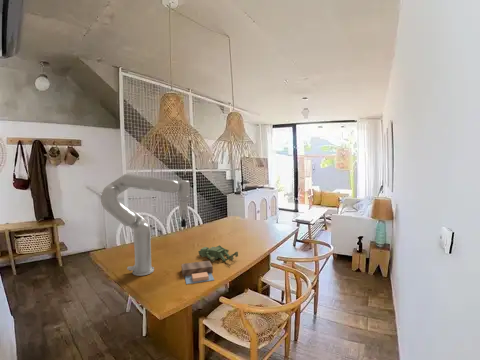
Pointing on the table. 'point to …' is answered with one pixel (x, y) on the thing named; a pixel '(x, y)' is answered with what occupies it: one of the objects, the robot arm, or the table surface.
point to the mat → (190, 281)
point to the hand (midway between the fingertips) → (183, 226)
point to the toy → (216, 253)
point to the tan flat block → (200, 276)
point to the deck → (196, 268)
